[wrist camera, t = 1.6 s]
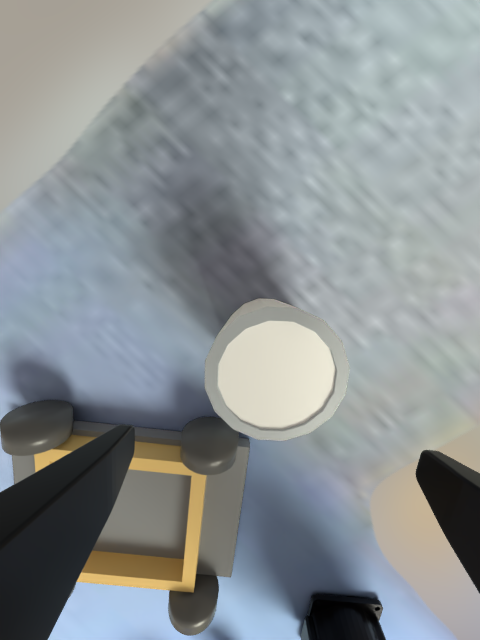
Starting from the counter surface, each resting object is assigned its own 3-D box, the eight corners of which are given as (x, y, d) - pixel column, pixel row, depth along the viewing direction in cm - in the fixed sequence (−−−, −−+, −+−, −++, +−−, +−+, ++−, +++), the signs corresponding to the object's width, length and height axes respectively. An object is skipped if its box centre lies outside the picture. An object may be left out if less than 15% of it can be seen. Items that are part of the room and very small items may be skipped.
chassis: (251, 421, 21) (254, 458, 17) (229, 577, 24) (227, 638, 20) (18, 396, 20) (-35, 428, 16) (30, 558, 24) (-11, 617, 20)
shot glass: (295, 389, 20) (324, 455, 13) (207, 368, 20) (189, 426, 13) (323, 302, 18) (372, 326, 12) (228, 278, 18) (221, 289, 11)
